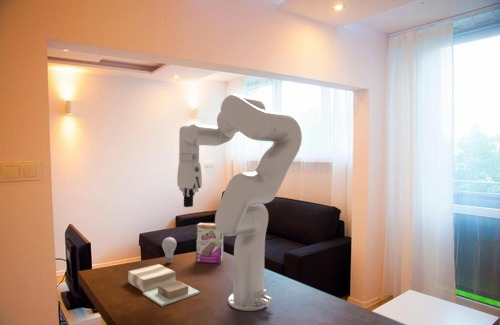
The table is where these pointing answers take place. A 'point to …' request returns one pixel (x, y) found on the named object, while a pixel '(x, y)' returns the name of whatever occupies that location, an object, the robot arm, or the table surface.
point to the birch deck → (151, 277)
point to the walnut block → (172, 289)
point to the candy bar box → (209, 244)
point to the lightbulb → (169, 248)
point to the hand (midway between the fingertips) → (188, 206)
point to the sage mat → (163, 301)
